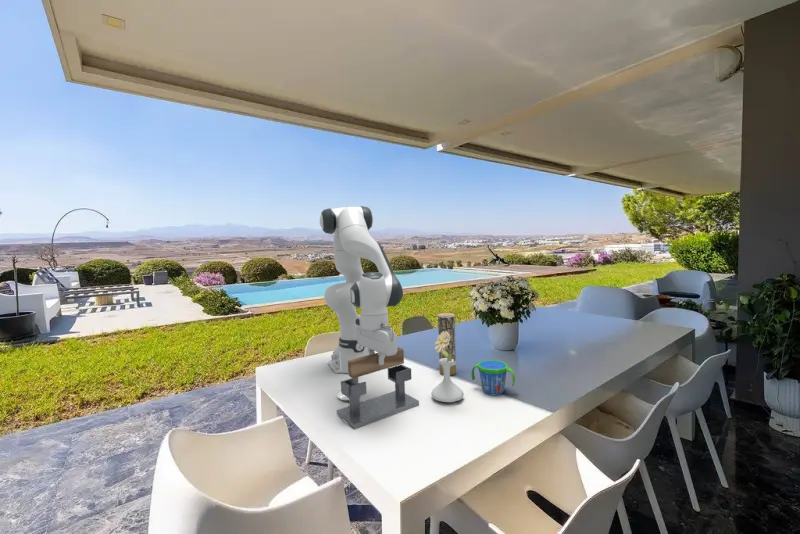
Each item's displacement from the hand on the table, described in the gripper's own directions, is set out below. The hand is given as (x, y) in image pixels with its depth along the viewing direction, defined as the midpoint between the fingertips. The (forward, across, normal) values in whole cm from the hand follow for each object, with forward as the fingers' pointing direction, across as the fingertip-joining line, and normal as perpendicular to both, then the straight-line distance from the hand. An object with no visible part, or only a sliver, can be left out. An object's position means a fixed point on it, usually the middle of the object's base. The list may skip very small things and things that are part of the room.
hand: (377, 362), depth 120 cm
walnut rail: (+2, 0, 0) cm, 2 cm away
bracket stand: (+16, 0, 0) cm, 16 cm away
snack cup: (+17, -15, -40) cm, 46 cm away
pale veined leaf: (+16, +15, +3) cm, 23 cm away
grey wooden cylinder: (+16, +9, -40) cm, 44 cm away
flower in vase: (+17, -9, -23) cm, 30 cm away
